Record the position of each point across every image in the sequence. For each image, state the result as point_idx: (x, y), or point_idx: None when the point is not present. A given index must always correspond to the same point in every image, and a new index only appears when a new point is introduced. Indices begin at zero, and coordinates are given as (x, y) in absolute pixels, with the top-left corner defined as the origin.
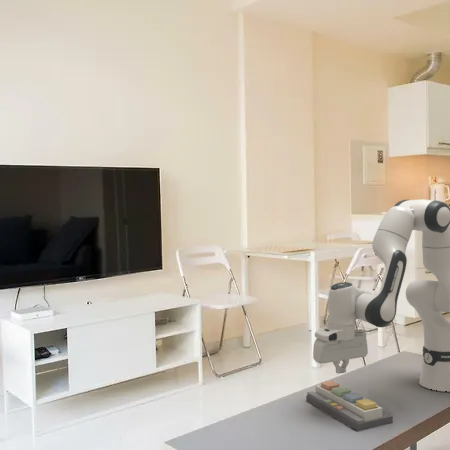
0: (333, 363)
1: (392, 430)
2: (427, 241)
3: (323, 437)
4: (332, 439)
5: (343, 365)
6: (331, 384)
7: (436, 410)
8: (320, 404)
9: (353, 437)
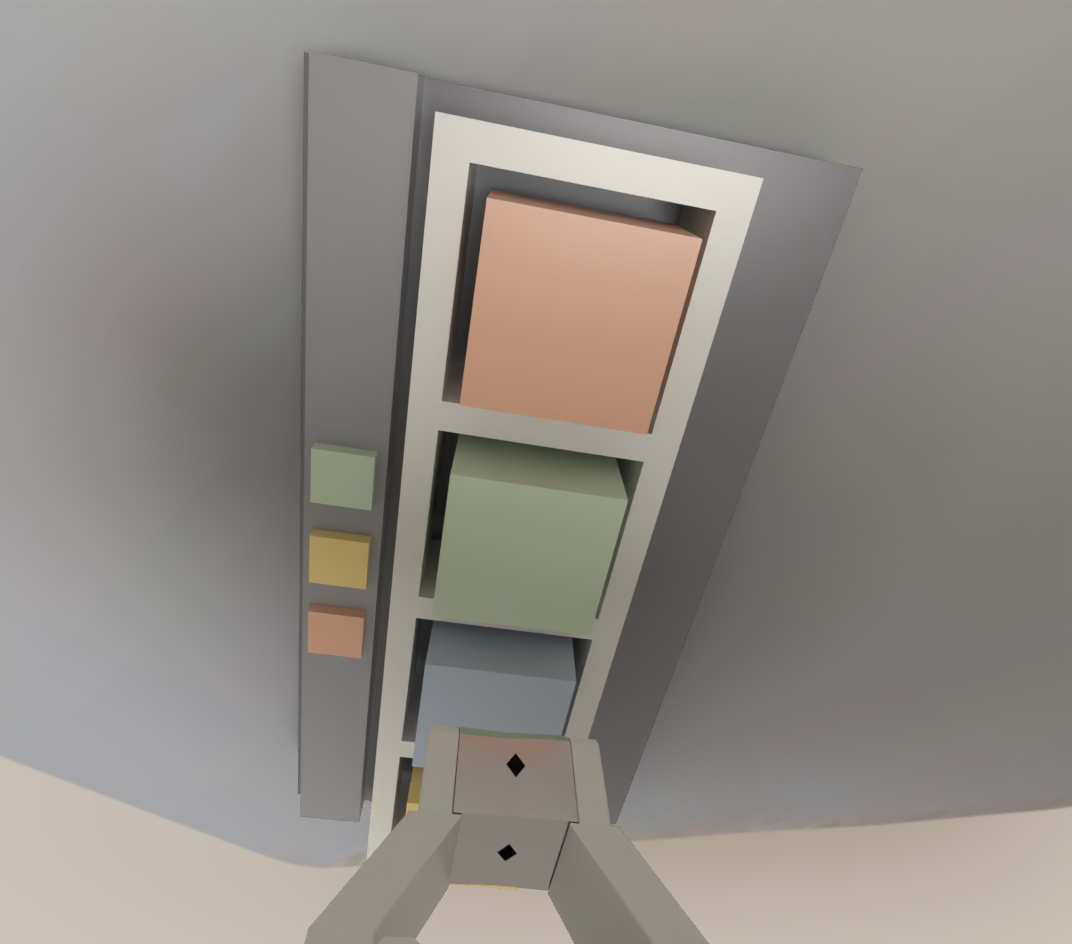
0: (331, 905)
1: None
2: None
3: (50, 696)
4: (95, 736)
5: (580, 891)
6: (560, 365)
7: (994, 805)
8: (304, 381)
9: (241, 775)
